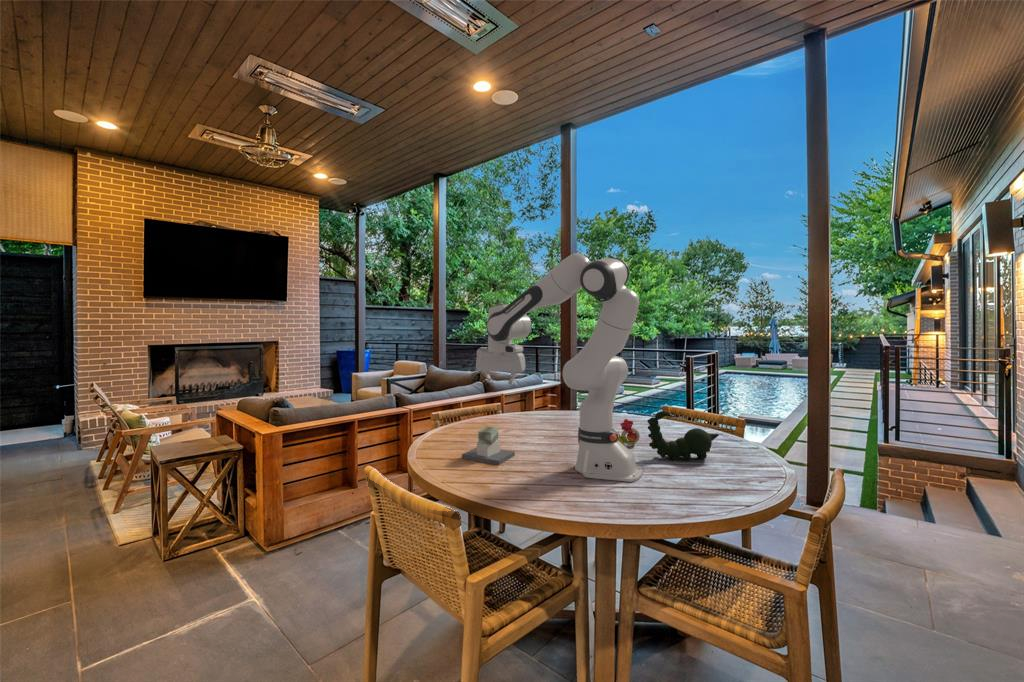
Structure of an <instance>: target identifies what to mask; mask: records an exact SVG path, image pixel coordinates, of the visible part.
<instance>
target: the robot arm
mask: <svg viewBox="0 0 1024 682" xmlns="http://www.w3.org/2000/svg"><path fill="white" fill-rule="evenodd" d="M630 274H631V273H630V267H629V265H628V263H626V261H624V260H623V259H621V258H619V257H606V258H605V257H604V258H601V259H597V260H593V261H591V260H590V259H589V258H588V257H587V256H586V255H584V254H582V253H579V252H574V253H572V254H570V255H568V256H567V257H565V258H564V259H562V260H561V261H560V262H559V263H557V264H556V265H555V266H554V267H553V268H552V269H551V270H550V271H548V273H547V274H545V276H543V278H541V279H540V280H539V281H537V282H536V283H534V285H531V287H529V288H528V289H526V290H525V291H524V292H522V293H521V294H520V295H519V296H517V297H516V298H515V299H514V300H513V301H511V302H510V303H509V304H496V305H495V304H494V305H493V306H491V307H490V308H489V309H488V314H487V321H486V332H487V334H488V337H487V345H488V346H486V347H484V346H483V347H482V346H480V347H479V348H478V349H477V350H476V360H475V361H476V362H475V369H476V371H478V372H483V373H484V374H483V375H484V376H485V378H486V380H487V381H486V383H487V384H492V383H493V377H491V375H490V374H491V372H495V373H496V372H497V373H510V375H511V377H510V378H509V379H508V380H507V381H508V385H514V384H515V379H516V377H517V373H518V374H519V373H524V372H525V370H526V358H525V354H524V353H523V351H524V347H523V346H522V345H519V344H516V343H514V342H512V340H522V339H524V338H527V337H528V336H529V335H530V334H531V332H532V328H533V324H532V323H533V322H532V320H531V318H530V316H528V315H527V314H529V313H530V312H532V311H534V310H536V309H539V308H543V307H552V306H558V305H561V304H563V303H565V302H566V301H567V300H569V299H570V298H571V297H572V296H573V295H574V294H576V293H577V292H578V291H579V290H580V289H581V288H582V289H583V291H584V292H586V293H587V294H589V295H590V296H591V297H593V298H594V299H596V300H597V301H598V302H601V303H603V304H602V307H601V310H600V313H599V315H598V319H597V321H596V324H595V326H594V329H593V331H592V333H591V335H590V337H589V339H588V341H587V342H586V343H585V345H584V346H583V347H582V348H581V350H579V352H578V353H577V354H576V355H575V356H574V357H572V358H570V359H569V360H568V361H567V362H565V364H564V366H563V369H562V378H563V381H564V383H565V385H566V386H567V387H568V388H570V389H572V390H578V391H579V390H580V391H587V390H589V391H588V394H587V396H586V397H585V398H584V399H583V400H582V401H581V403H580V405H579V426H578V429H577V430H578V431H577V442H578V451H577V458H576V462H575V466H574V469H575V471H576V472H578V473H580V474H581V475H582V476H583V477H584V478H587V479H588V478H589V479H597V480H598V479H599V480H606V481H619V482H628V483H629V482H630V483H631V482H635V481H638V480H639V479H641V477H642V476H643V474H644V471H643V468H642V467H641V466H640V465H637V462H636V457H635V455H634V452H633V451H632V450H630V449H629V448H628V447H627V446H626V447H625V446H624V445H623V444H622V443H621V442H619V441H618V437H619V434H620V430H617V431H616V429H614V427H613V419H614V417H613V415H614V404H615V400H616V396H617V394H618V392H619V389H620V387H621V386H622V384H623V383H624V382H625V381H626V379H627V377H628V375H629V368H628V364H627V362H626V360H625V359H624V358H623V357H621V356H617V355H618V354H619V353H621V352H622V351H623V349H624V348H625V346H626V344H627V342H628V339H629V336H630V335H631V331H632V329H633V327H634V324H635V321H636V318H637V315H638V312H639V306H640V298H639V295H638V294H637V293H636V292H635V291H633V289H630V288H627V286H625V285H626V284H627V283H628V281H629V278H630Z"/></svg>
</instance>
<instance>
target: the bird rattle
mask: <svg viewBox="0 0 1024 682" xmlns="http://www.w3.org/2000/svg"><path fill="white" fill-rule="evenodd" d="M633 425H634V421H633V420H629V419H627V418H625V419H624V420H623V422H621V423H620V427H621V430H622V432H621V434H620V433H619V435H618V441H619V442H621V443H622V444H623V445H624V446H625V447H627V446H626V445H628V446H633V447H634V446H635V445H636V444H637V443H638V442H639V440H640V433H639V431H638V430H637V429H636V428H635V427H633Z"/></svg>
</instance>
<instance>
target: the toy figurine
mask: <svg viewBox="0 0 1024 682" xmlns="http://www.w3.org/2000/svg"><path fill="white" fill-rule="evenodd" d="M672 416H673V415H672V414H671V413H670V412H668V411H666V410H660V411H657V412H656V413H655V416H654V417H653V416H651V417H650V418H649V419H647V421H646V422H647V423H648V424H649V425H648V426H647V429H648V430H649V432H650V433H649V434H648V435H647V437H648V438H649V439H651V442H649V444H648V445H649V447H651V449H653V450H656V454H657V455H659V456H660V457H661V459H665V458H666V457H668V458H671V460H672V461H674V462H676V461H678V460H679V457H682V458H684V460H686V461H689V460H691V458H692V455H691V454H693V455H696V457H697V458H698V459H700V460H705V459H707V456H708V455H707V453H709V452H710V451H711V447H712V444H713V443H712V442H713V441H714V440H715V439H716V438H718V437H719V436H720V435H719V434H718V433H709V432H707V431H706V430H704V429H702V428H697V427H695V428H691V429H689V430H688V431H686V433H684V435H683V437H679V438H676V439H675V440H671V441H667V440H666V439H665V438H664V437H663V433H662V432H661V426H660V425H659V420H661V419H663V418H664V417H668V418H672Z"/></svg>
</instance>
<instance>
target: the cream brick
mask: <svg viewBox="0 0 1024 682" xmlns="http://www.w3.org/2000/svg"><path fill="white" fill-rule="evenodd" d="M476 447H477V455H481V456H485V457H489V456H491V455H493V454H496V453H498V452H500V449H501V439H500V438H498V440H496V441H495V442H494V443H493V444H491V445H489V444H478V442H476Z"/></svg>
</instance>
